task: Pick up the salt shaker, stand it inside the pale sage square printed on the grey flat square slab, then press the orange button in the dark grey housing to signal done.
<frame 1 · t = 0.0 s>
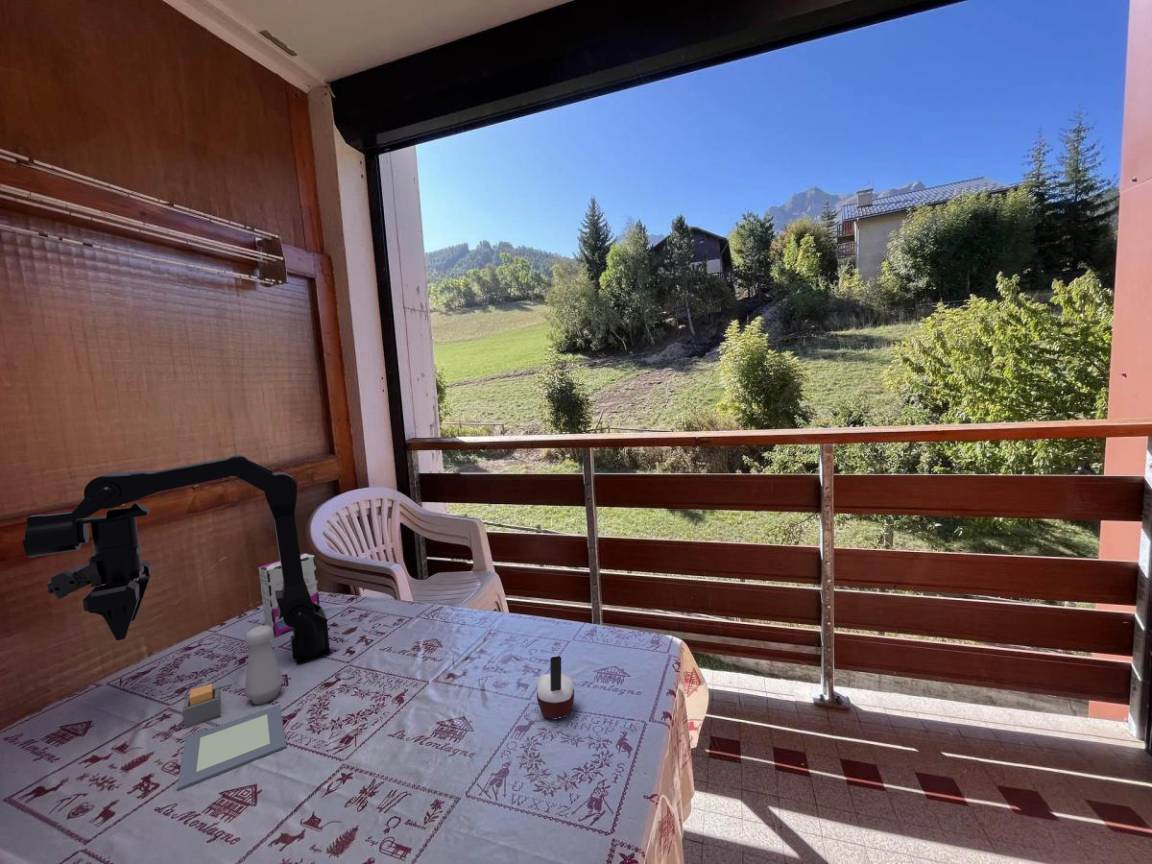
hand: (126, 629, 84), 15 cm above the table, tool pointing down, fingers open, 9 cm apart
push button: (201, 698, 82), point 3 cm above the table, slide at 0.0 cm
salt shaker: (265, 698, 87), on the table
candy bar box: (293, 626, 116), on the table
cocoa: (556, 714, 78), on the table
button housing: (203, 715, 82), on the table
grey flat square slab: (234, 743, 75), on the table
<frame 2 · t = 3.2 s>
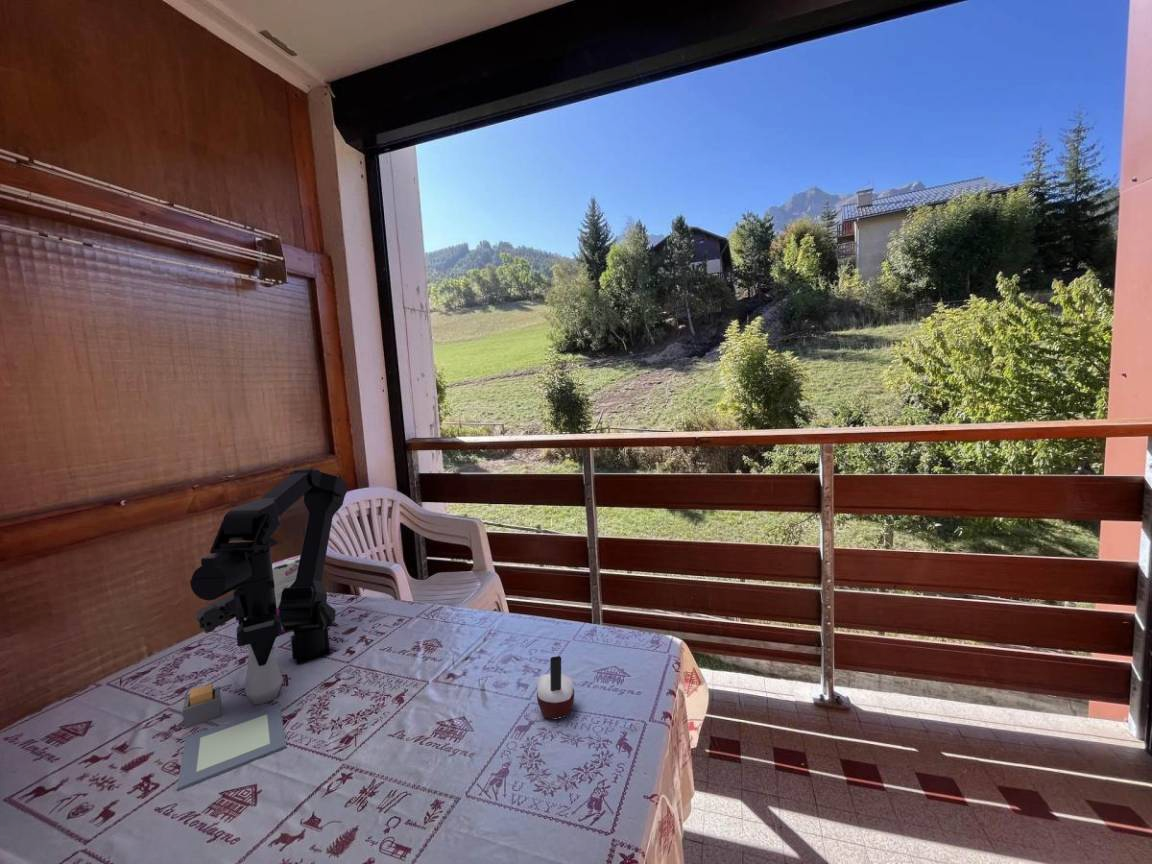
hand: (262, 660, 86), 7 cm above the table, tool pointing down, fingers closed on salt shaker, 3 cm apart
salt shaker: (265, 698, 87), on the table, touching gripper
everything else where it was.
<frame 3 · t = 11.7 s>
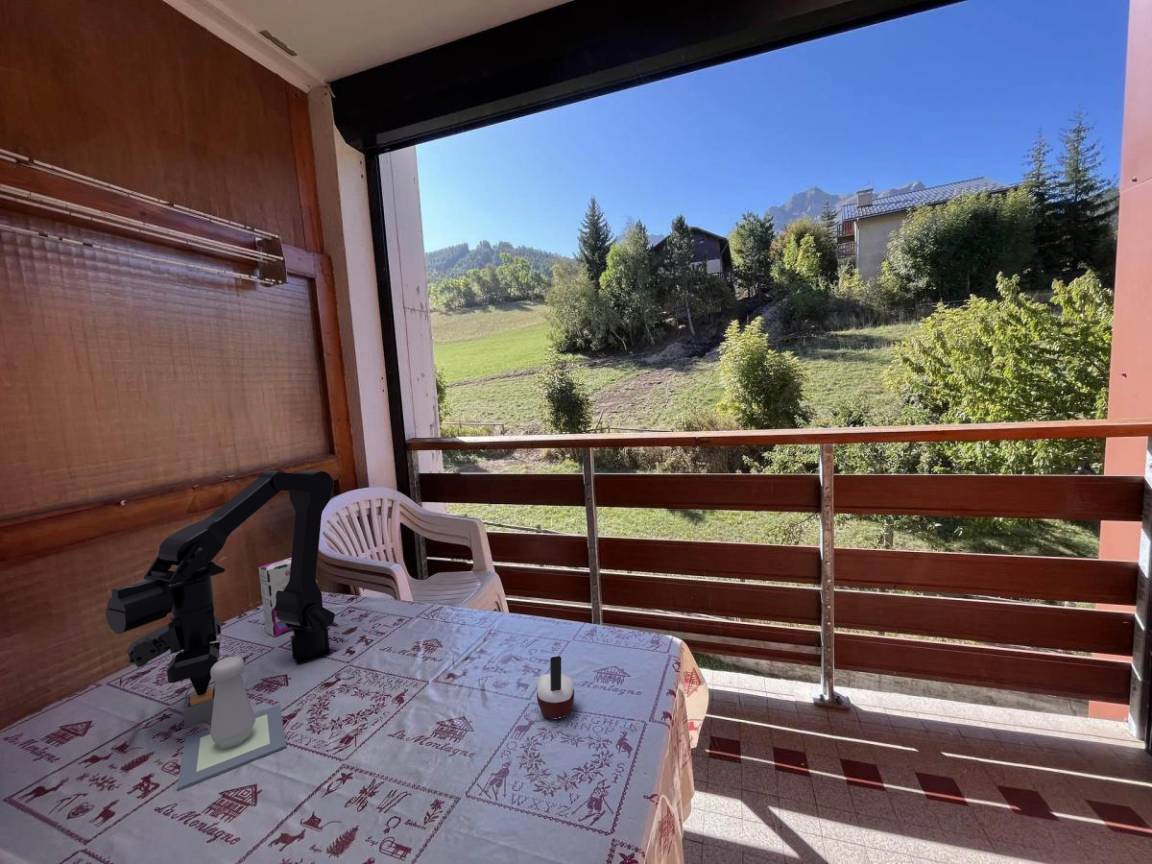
hand: (201, 693, 82), 4 cm above the table, tool pointing down, fingers closed, pressing on push button
push button: (202, 701, 82), point 3 cm above the table, slide at 0.6 cm, touching gripper
salt shaker: (235, 741, 75), resting on grey flat square slab
everything else where it was.
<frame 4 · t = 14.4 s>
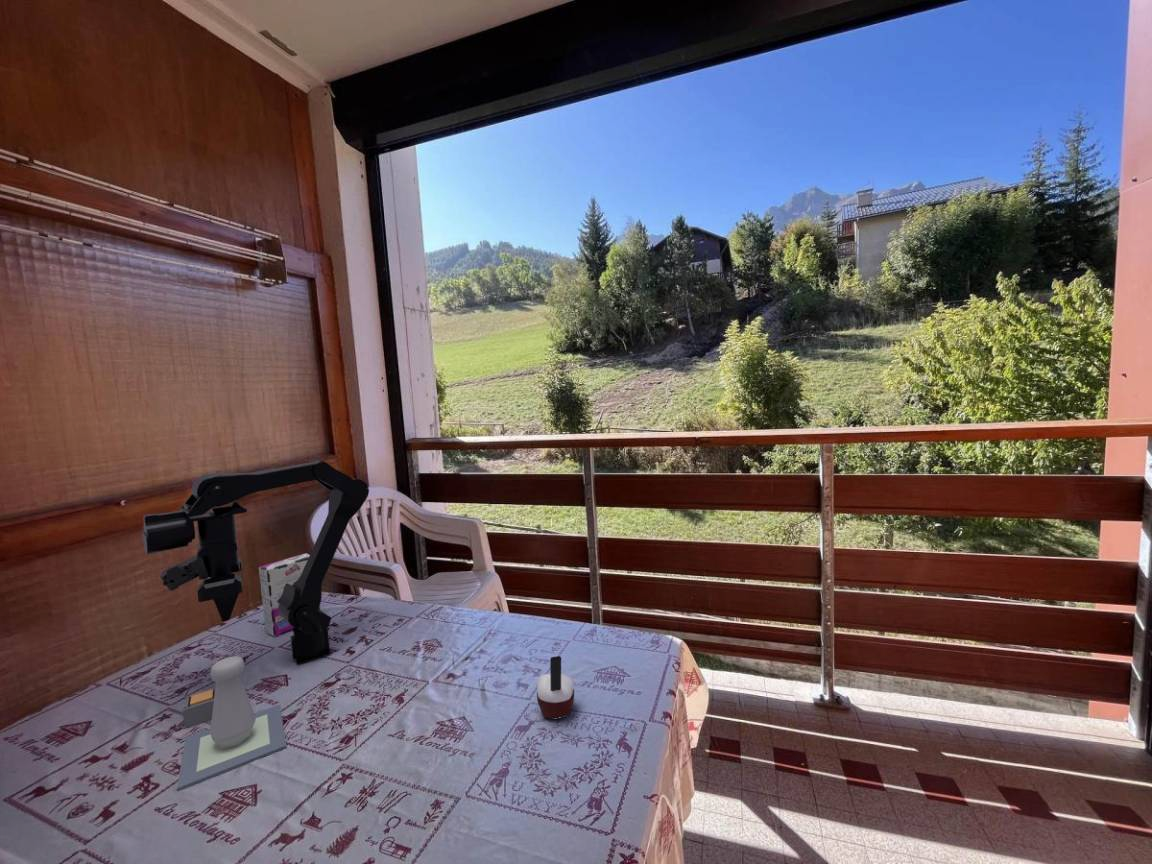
hand: (225, 620, 90), 13 cm above the table, tool pointing down, fingers closed
push button: (202, 703, 82), point 2 cm above the table, slide at 1.1 cm
everything else where it was.
at the end: salt shaker 0.1 cm off-centre on the grey flat square slab, point 0.3 cm above the grey flat square slab's base; salt shaker tilted 0°; push button slide at 1.1 cm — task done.
